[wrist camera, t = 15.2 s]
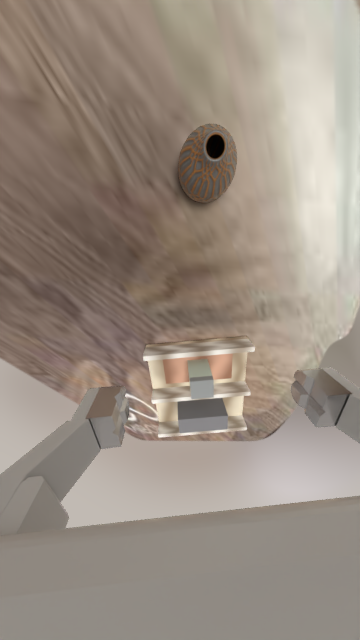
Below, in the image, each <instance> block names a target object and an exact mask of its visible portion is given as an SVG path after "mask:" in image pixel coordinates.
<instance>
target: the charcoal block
mask: <svg viewBox="0 0 360 640" xmlns="http://www.w3.org/2000/svg"><path fill="white" fill-rule="evenodd" d="M178 425H179V433H189V432H201V431H213V430H224V429H228V414H227V411H226V408H225V405H224V402H223V398H213V399H201V400H189V401H178Z"/></svg>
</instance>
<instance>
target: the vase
mask: <svg viewBox="0 0 360 640" xmlns="http://www.w3.org/2000/svg"><path fill="white" fill-rule="evenodd" d="M236 164H237V152H236V146H235V143H234V140H233V138H232V136H231V135H230V133H229V132H228V131H227V130H226V129H225V128H223V127H222V126H220V125H217V124H206V125H203V126H200V127H199V128H197V129H196V130H194V131H193V132H192V133H191V134H190V136H189V137H188V138H187V140H186V141H185V143H184V145H183V147H182V150H181V153H180V156H179V163H178V174H179V180H180V183H181V186H182V188H183V190H184V192H185V193H186V194H187V195H188V196H189V197H190V198H191V199H193V200H194V201H197V202H201V203H207V202H211V201H213V200H215V199H217V198H219V197H220V196H221V195H222V194H223V193H224V192H225V191H226V190H227V188H228V187H229V185H230V184H231V182H232V179H233V177H234V174H235V170H236Z"/></svg>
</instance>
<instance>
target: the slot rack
mask: <svg viewBox="0 0 360 640" xmlns="http://www.w3.org/2000/svg"><path fill="white" fill-rule="evenodd" d="M254 351H255V346H254V345H253V344H252V342H251V341H250V340H249V339H248V337H247V336H242V337H230V338H219V339H207V340H196V341H184V342H173V343H161V344H150V345H146V347H145V351H144V354H143V360H144V361H148V364H149V370H150V375H151V381H152V386H153V392H152V399H151V401H152V404H155V403H156V408H157V413H158V419H159V430H158V437H171V436H183V435H194V434H206V433H218V432H229V431H241V430H247V426H246V424H245V421H244V419H243V416H242V411H243V398H244V396H248V395H250V390H249V388H248V386H247V384H246V382H245V374H246V362H247V352H254ZM199 359H208V363H209V366H210V369H211V373H212V376H213V380H214V397H212V398H200V399H191V392H190V383H189V373H188V360H199ZM213 398H223V402H224V405H225V408H226V411H227V414H228V429H224V430H213V431H201V432H189V433H179V425H178V401H189V400H201V399H213Z"/></svg>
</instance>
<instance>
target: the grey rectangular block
mask: <svg viewBox="0 0 360 640" xmlns="http://www.w3.org/2000/svg"><path fill="white" fill-rule="evenodd" d="M188 373H189V383H190V392H191V399H200V398H212V397H214V380H213V376H212V373H211V369H210V366H209V363H208V359H199V360H188Z"/></svg>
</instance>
